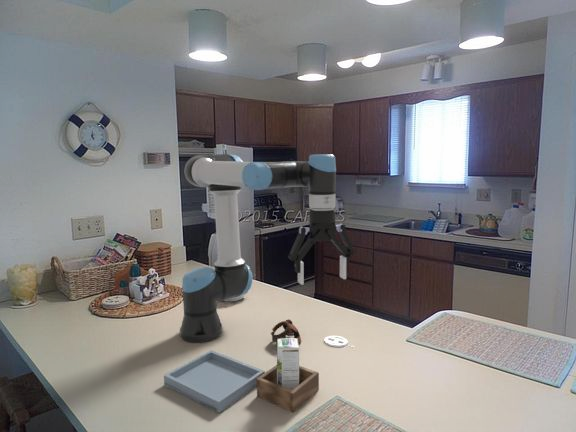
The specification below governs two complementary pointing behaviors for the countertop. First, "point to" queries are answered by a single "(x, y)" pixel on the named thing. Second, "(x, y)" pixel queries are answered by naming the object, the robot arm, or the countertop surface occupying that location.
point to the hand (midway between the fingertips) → (322, 280)
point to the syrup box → (288, 363)
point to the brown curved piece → (286, 331)
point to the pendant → (336, 341)
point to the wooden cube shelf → (285, 396)
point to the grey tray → (213, 380)
